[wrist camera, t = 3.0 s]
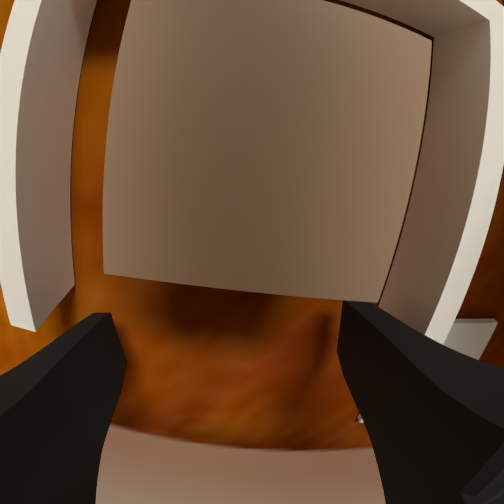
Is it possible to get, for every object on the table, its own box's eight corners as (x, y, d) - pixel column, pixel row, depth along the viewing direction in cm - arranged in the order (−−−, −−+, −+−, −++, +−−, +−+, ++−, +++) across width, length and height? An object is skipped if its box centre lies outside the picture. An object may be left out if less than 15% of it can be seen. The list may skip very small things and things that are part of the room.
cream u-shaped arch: (455, 26, 7) (509, 11, 4) (395, 317, 11) (431, 366, 8) (84, -36, 6) (45, -72, 3) (52, 280, 10) (10, 324, 7)
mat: (493, 318, 12) (498, 322, 12) (444, 404, 14) (447, 409, 14) (405, 317, 11) (410, 323, 11) (357, 417, 13) (359, 423, 13)
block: (337, 78, 8) (431, 40, 3) (312, 220, 10) (378, 302, 5) (184, 54, 8) (136, -18, 3) (165, 201, 9) (104, 273, 5)
